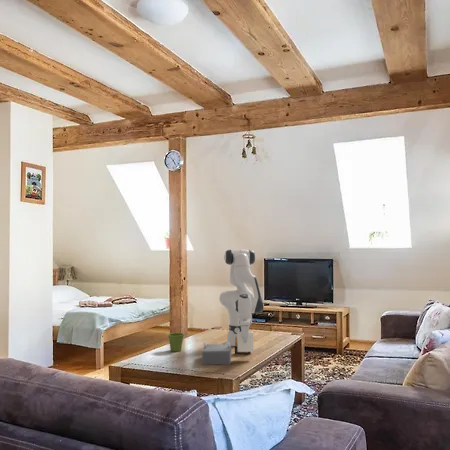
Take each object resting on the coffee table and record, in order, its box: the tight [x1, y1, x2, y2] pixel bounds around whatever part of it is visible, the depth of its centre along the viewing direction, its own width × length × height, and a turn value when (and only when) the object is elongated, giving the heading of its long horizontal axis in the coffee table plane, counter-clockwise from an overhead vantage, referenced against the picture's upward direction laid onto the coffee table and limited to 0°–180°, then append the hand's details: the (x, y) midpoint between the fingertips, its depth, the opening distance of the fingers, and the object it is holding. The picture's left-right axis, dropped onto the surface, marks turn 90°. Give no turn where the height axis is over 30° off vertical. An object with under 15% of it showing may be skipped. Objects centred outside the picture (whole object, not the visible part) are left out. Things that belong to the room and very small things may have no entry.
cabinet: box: [201, 342, 232, 365], centre depth 320 cm, size 21×17×11 cm
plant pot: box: [167, 332, 185, 352], centre depth 351 cm, size 12×12×11 cm
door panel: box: [237, 331, 254, 353], centre depth 322 cm, size 3×10×12 cm, turn 88°
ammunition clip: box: [234, 336, 252, 356], centre depth 338 cm, size 11×2×12 cm, turn 73°
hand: (245, 342), depth 322 cm, fingers closed on door panel, 3 cm apart
